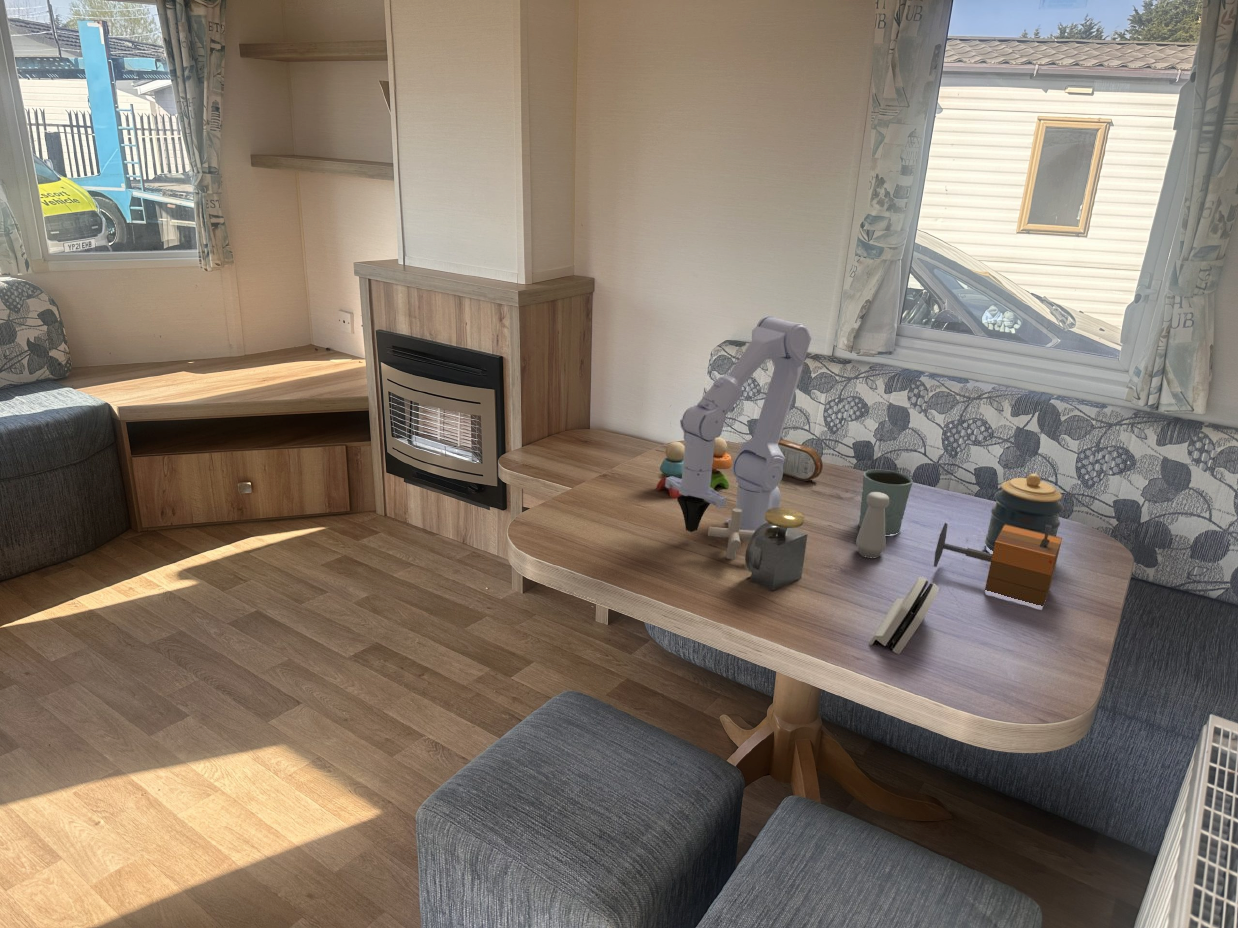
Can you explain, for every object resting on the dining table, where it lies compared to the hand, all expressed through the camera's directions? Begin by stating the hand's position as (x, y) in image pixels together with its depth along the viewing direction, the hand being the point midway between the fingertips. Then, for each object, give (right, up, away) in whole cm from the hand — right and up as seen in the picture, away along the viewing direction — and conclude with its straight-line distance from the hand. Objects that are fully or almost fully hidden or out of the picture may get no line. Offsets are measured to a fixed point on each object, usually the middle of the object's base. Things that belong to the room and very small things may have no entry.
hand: (691, 529), depth 178 cm
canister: (+68, -5, +4) cm, 68 cm away
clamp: (+56, -10, -10) cm, 58 cm away
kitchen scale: (+14, -8, -13) cm, 21 cm away
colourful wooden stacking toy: (+1, +8, +32) cm, 33 cm away
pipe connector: (+7, -5, -6) cm, 10 cm away
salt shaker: (+36, -5, 0) cm, 36 cm away
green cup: (+42, -1, +13) cm, 44 cm away
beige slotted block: (+33, -15, -29) cm, 47 cm away
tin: (+29, +10, +43) cm, 52 cm away
